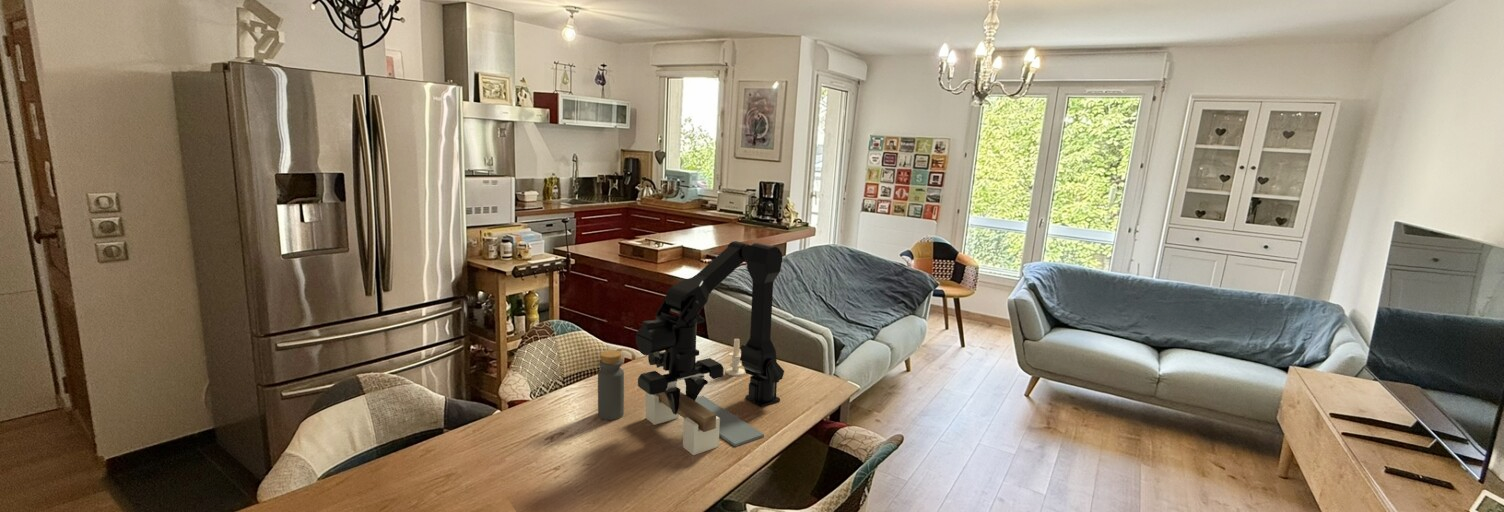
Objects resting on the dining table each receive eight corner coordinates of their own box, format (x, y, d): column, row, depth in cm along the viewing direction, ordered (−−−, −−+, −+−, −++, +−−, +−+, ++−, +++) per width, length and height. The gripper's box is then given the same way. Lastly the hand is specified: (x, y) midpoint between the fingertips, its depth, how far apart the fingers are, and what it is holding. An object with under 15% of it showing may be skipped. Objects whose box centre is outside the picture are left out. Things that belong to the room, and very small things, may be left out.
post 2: (708, 438, 131) (708, 411, 130) (718, 446, 128) (719, 418, 127) (682, 447, 127) (683, 418, 126) (693, 455, 124) (694, 426, 123)
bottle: (617, 421, 137) (617, 359, 134) (593, 418, 138) (593, 356, 135) (627, 411, 143) (628, 350, 140) (604, 407, 144) (604, 347, 141)
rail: (661, 391, 142) (661, 379, 142) (715, 428, 126) (716, 414, 125) (650, 394, 140) (650, 382, 140) (703, 432, 124) (704, 418, 123)
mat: (702, 397, 152) (703, 395, 152) (763, 436, 133) (764, 434, 133) (675, 405, 147) (675, 403, 147) (735, 446, 129) (735, 444, 128)
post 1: (669, 411, 144) (670, 385, 142) (678, 417, 141) (679, 391, 139) (645, 418, 140) (646, 391, 138) (654, 424, 137) (654, 398, 135)
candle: (724, 369, 171) (725, 334, 169) (742, 368, 172) (744, 333, 170) (728, 376, 166) (729, 340, 164) (746, 375, 167) (748, 339, 165)
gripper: (698, 327, 142) (696, 389, 145) (625, 341, 130) (625, 408, 133) (726, 340, 134) (723, 406, 137) (651, 357, 122) (650, 428, 125)
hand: (681, 412), depth 133 cm, fingers closed on rail, 3 cm apart
